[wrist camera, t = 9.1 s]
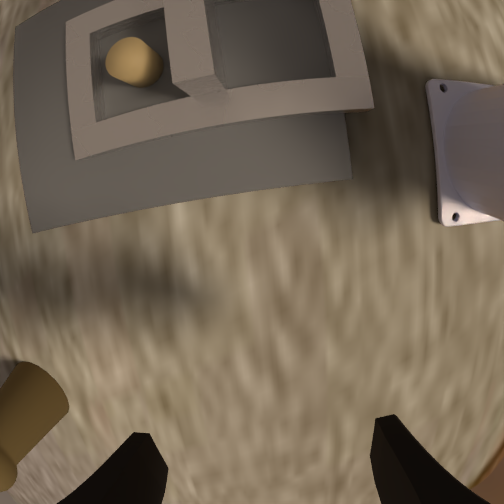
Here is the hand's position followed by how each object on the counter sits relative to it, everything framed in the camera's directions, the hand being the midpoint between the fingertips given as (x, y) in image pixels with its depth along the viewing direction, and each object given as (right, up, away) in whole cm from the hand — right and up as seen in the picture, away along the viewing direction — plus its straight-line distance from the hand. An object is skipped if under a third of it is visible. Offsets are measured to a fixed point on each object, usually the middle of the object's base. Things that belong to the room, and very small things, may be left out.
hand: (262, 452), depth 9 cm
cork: (-18, -5, +13) cm, 23 cm away
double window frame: (-2, +16, +4) cm, 17 cm away
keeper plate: (-5, +15, +5) cm, 17 cm away
